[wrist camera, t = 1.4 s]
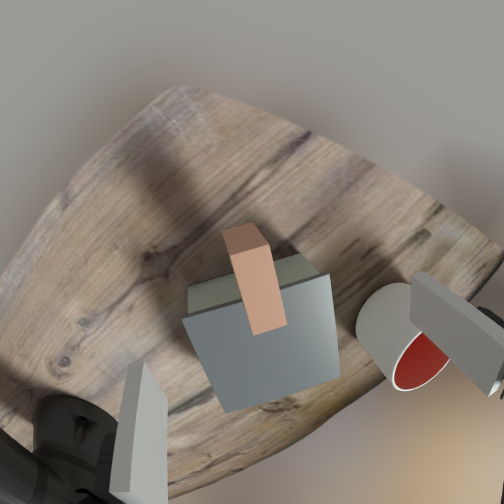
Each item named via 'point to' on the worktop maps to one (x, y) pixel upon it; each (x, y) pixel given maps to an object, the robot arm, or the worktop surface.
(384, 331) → the cup
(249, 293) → the lid
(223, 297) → the tub
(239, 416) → the worktop surface
